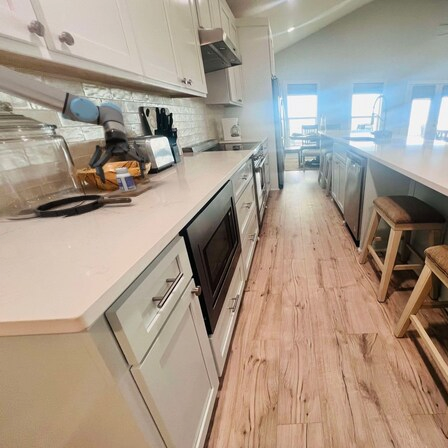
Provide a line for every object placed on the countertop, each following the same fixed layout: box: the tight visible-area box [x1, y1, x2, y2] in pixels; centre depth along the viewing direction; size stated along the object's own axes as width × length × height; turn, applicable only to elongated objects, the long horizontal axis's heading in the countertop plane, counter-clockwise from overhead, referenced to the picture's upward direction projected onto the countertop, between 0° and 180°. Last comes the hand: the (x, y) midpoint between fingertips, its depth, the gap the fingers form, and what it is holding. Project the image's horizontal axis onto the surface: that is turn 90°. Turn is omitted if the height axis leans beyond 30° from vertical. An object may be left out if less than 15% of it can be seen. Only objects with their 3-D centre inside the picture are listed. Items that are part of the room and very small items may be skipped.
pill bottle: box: [114, 166, 137, 192], centre depth 95 cm, size 5×5×9 cm
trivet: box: [103, 185, 153, 199], centre depth 97 cm, size 12×12×1 cm
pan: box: [33, 194, 133, 219], centre depth 80 cm, size 28×17×3 cm, turn 93°
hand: (123, 179), depth 93 cm, fingers open, 12 cm apart
